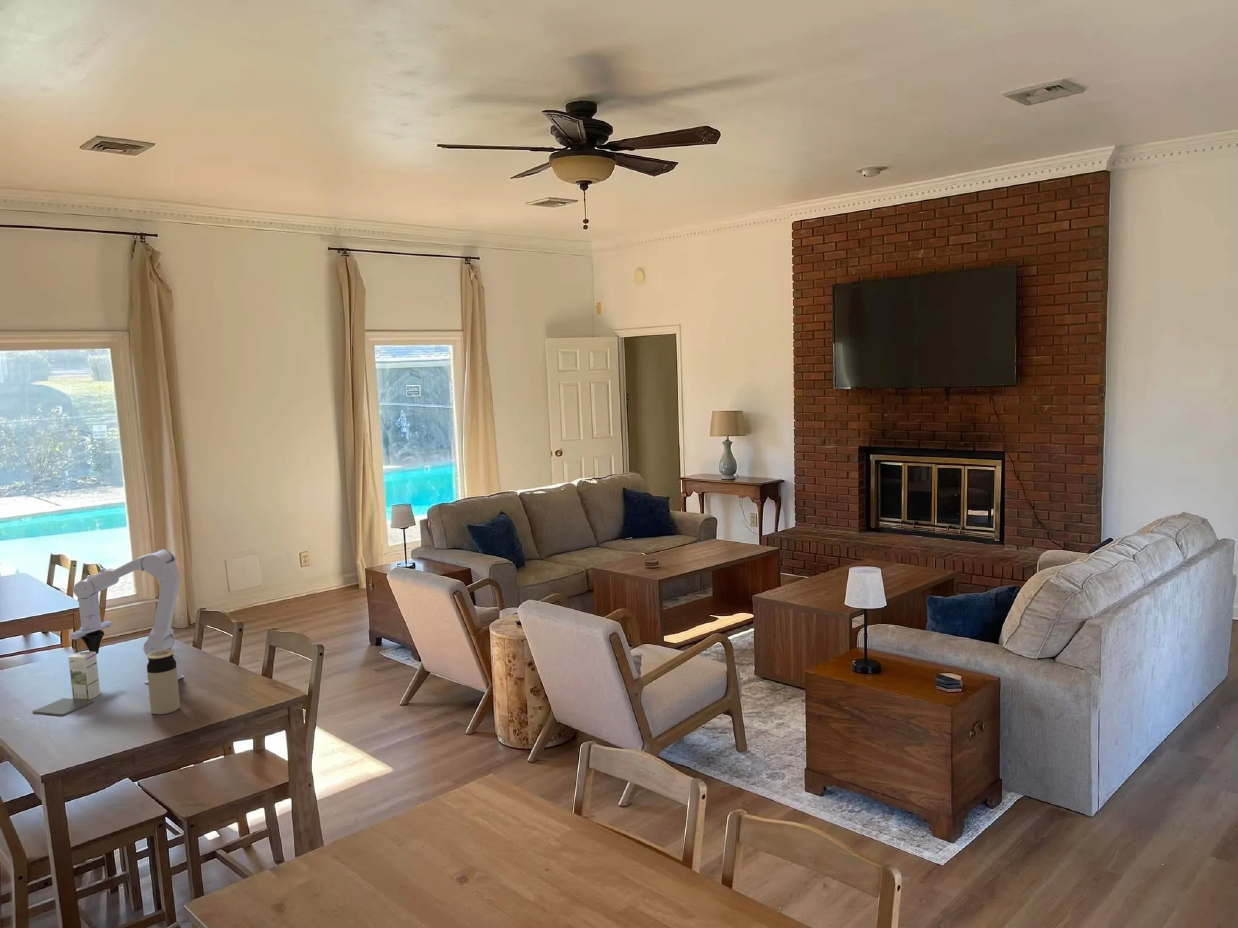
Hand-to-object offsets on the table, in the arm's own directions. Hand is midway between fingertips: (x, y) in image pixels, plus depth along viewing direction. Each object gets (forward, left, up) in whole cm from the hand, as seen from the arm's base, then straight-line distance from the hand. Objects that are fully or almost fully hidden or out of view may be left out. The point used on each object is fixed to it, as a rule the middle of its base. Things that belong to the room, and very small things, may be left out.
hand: (94, 653), depth 297 cm
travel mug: (-42, +15, -11) cm, 46 cm away
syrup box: (-7, +11, -11) cm, 17 cm away
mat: (-8, +20, -10) cm, 24 cm away
